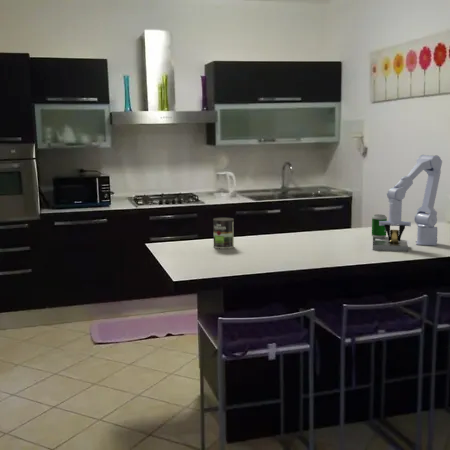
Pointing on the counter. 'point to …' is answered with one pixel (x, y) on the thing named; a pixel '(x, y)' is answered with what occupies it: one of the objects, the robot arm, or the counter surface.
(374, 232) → the soda can
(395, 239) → the bushing
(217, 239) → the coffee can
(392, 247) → the jig
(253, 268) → the counter surface
